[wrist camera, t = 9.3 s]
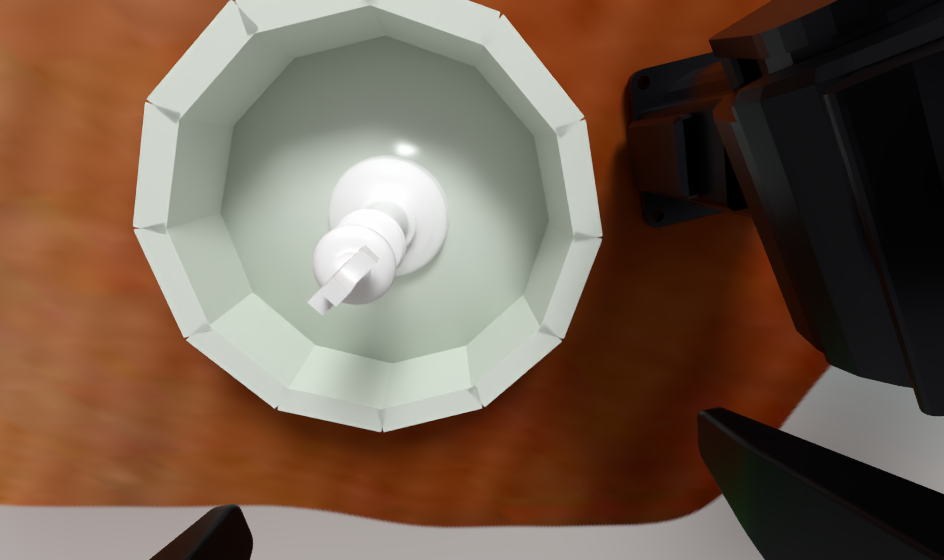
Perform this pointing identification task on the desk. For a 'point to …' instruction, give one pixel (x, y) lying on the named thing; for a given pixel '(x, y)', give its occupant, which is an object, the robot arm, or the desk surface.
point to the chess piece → (378, 230)
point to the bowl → (316, 174)
